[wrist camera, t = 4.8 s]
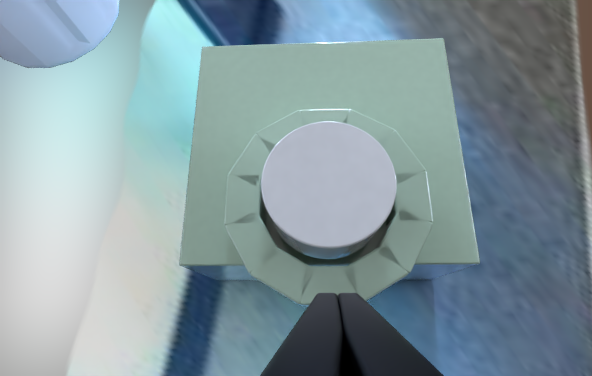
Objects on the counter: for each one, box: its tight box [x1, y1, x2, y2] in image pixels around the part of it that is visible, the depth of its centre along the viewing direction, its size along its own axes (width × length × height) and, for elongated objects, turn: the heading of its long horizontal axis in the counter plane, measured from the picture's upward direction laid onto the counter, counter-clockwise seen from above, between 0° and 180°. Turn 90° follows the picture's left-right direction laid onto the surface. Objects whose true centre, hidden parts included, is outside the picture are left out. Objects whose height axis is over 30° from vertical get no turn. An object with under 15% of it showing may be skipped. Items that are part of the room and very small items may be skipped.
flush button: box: [261, 121, 397, 259], centre depth 12 cm, size 4×4×2 cm
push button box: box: [179, 39, 480, 307], centre depth 17 cm, size 11×11×8 cm
